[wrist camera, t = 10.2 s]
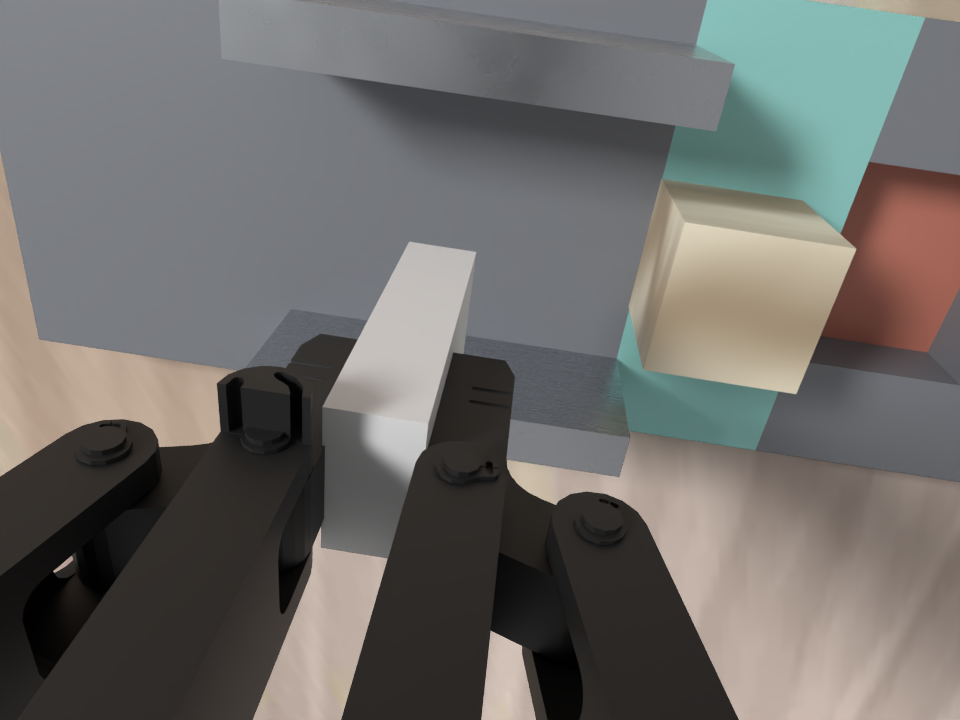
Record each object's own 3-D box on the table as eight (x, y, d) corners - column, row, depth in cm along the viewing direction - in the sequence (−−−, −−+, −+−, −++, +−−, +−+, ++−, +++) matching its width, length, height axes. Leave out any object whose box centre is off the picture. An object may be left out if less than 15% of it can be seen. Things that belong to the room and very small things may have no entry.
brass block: (661, 178, 22) (684, 222, 18) (802, 200, 22) (856, 248, 18) (628, 306, 24) (643, 369, 21) (756, 326, 24) (796, 393, 20)
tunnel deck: (14, -112, 23) (-226, -151, 16) (1136, 48, 22) (1407, 83, 15) (84, 307, 30) (-59, 408, 23) (928, 437, 29) (1045, 582, 22)
